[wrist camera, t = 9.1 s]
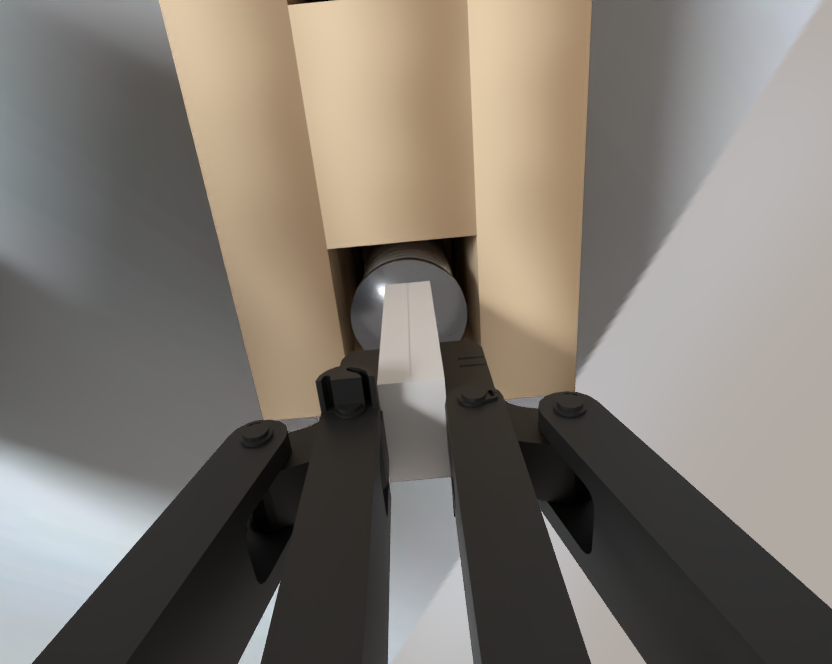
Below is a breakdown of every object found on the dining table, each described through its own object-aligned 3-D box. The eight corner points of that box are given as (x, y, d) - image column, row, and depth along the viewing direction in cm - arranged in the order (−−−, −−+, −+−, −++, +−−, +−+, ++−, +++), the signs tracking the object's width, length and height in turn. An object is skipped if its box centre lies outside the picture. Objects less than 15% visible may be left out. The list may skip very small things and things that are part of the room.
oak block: (305, 318, 30) (263, 421, 20) (218, -140, 21) (81, -312, 12) (520, 298, 29) (574, 393, 20) (517, -171, 21) (607, -368, 12)
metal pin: (371, 288, 27) (358, 373, 19) (361, 209, 26) (342, 267, 17) (448, 280, 27) (469, 363, 19) (443, 202, 26) (464, 255, 17)
